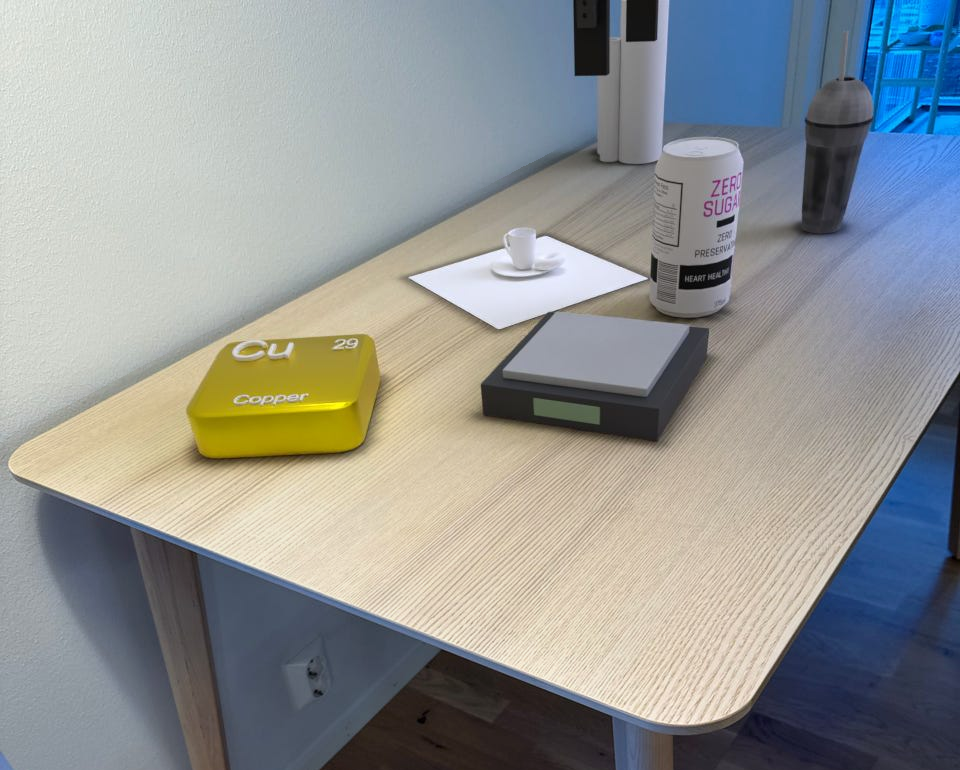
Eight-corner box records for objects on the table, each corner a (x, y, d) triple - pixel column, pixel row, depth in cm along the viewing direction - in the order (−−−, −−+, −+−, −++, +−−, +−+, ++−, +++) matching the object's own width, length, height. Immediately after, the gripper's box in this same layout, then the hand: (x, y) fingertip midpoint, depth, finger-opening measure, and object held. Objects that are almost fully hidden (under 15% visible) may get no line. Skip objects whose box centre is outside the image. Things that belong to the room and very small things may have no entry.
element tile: (193, 461, 79) (176, 411, 76) (235, 382, 90) (222, 335, 87) (362, 453, 77) (353, 402, 74) (383, 373, 89) (376, 326, 85)
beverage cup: (866, 225, 108) (905, 25, 94) (825, 242, 105) (859, 38, 92) (816, 212, 112) (847, 20, 99) (776, 228, 110) (802, 32, 96)
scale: (706, 358, 85) (710, 319, 83) (656, 442, 75) (659, 400, 72) (549, 340, 91) (548, 303, 89) (482, 415, 81) (478, 375, 78)
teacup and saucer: (576, 269, 105) (575, 233, 102) (519, 288, 102) (517, 251, 99) (533, 250, 110) (531, 215, 108) (478, 267, 108) (475, 232, 105)
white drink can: (662, 286, 99) (670, 134, 89) (737, 293, 96) (754, 136, 86) (638, 315, 94) (644, 157, 84) (717, 324, 91) (733, 160, 81)
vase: (670, 154, 136) (679, -8, 123) (644, 167, 133) (650, 1, 119) (607, 146, 142) (609, -8, 129) (581, 158, 138) (580, 0, 125)
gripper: (624, -285, 73) (620, 30, 87) (501, -299, 56) (522, 91, 70) (717, -300, 70) (698, 27, 84) (617, -319, 54) (614, 91, 68)
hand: (618, 57), depth 77 cm, fingers open, 13 cm apart
